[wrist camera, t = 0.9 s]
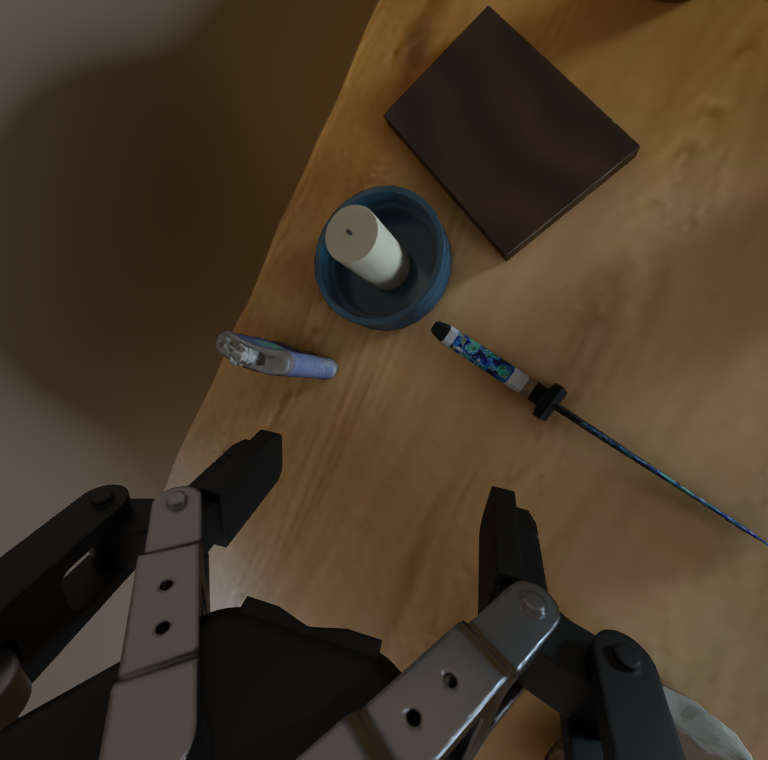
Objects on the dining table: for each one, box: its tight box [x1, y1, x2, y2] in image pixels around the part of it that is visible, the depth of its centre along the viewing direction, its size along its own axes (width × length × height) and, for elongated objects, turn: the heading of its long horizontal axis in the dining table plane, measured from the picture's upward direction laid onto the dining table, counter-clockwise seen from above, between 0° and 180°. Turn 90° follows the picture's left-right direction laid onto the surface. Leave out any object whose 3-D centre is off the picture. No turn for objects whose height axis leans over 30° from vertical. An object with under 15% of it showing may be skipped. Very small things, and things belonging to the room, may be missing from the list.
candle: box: [325, 205, 410, 290], centre depth 35 cm, size 5×5×10 cm
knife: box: [431, 321, 768, 545], centre depth 31 cm, size 31×3×4 cm, turn 52°
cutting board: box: [384, 6, 640, 261], centre depth 35 cm, size 13×20×2 cm, turn 37°
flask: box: [215, 331, 338, 379], centre depth 38 cm, size 9×3×11 cm, turn 73°
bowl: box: [314, 186, 452, 331], centre depth 38 cm, size 13×13×4 cm
